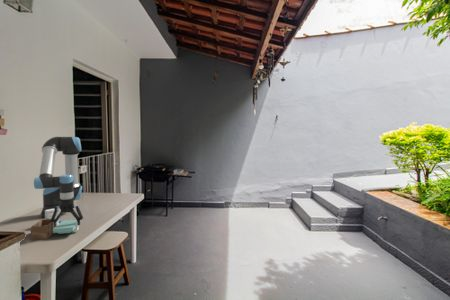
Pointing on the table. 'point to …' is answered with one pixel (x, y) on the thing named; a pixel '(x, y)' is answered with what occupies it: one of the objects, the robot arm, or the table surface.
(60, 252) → the table surface
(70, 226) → the lid
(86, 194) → the table surface
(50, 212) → the ink box
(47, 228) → the crate
